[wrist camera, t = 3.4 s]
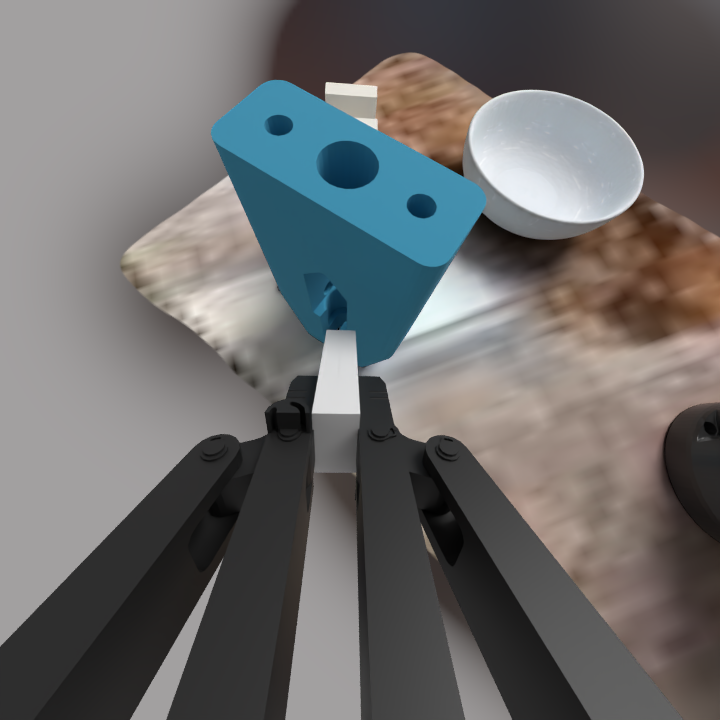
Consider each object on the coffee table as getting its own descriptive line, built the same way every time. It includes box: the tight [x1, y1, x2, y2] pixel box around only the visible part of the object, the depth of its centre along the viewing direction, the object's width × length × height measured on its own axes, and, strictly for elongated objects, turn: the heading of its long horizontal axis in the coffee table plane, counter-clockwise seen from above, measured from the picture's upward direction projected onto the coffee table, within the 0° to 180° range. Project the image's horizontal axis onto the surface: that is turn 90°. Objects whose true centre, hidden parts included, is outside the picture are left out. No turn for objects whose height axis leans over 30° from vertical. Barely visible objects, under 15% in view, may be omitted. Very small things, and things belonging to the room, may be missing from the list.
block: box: [211, 80, 487, 367], centre depth 21 cm, size 12×5×20 cm, turn 57°
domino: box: [325, 82, 377, 119], centre depth 31 cm, size 2×5×10 cm, turn 90°
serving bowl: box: [463, 90, 644, 240], centre depth 35 cm, size 21×21×7 cm
